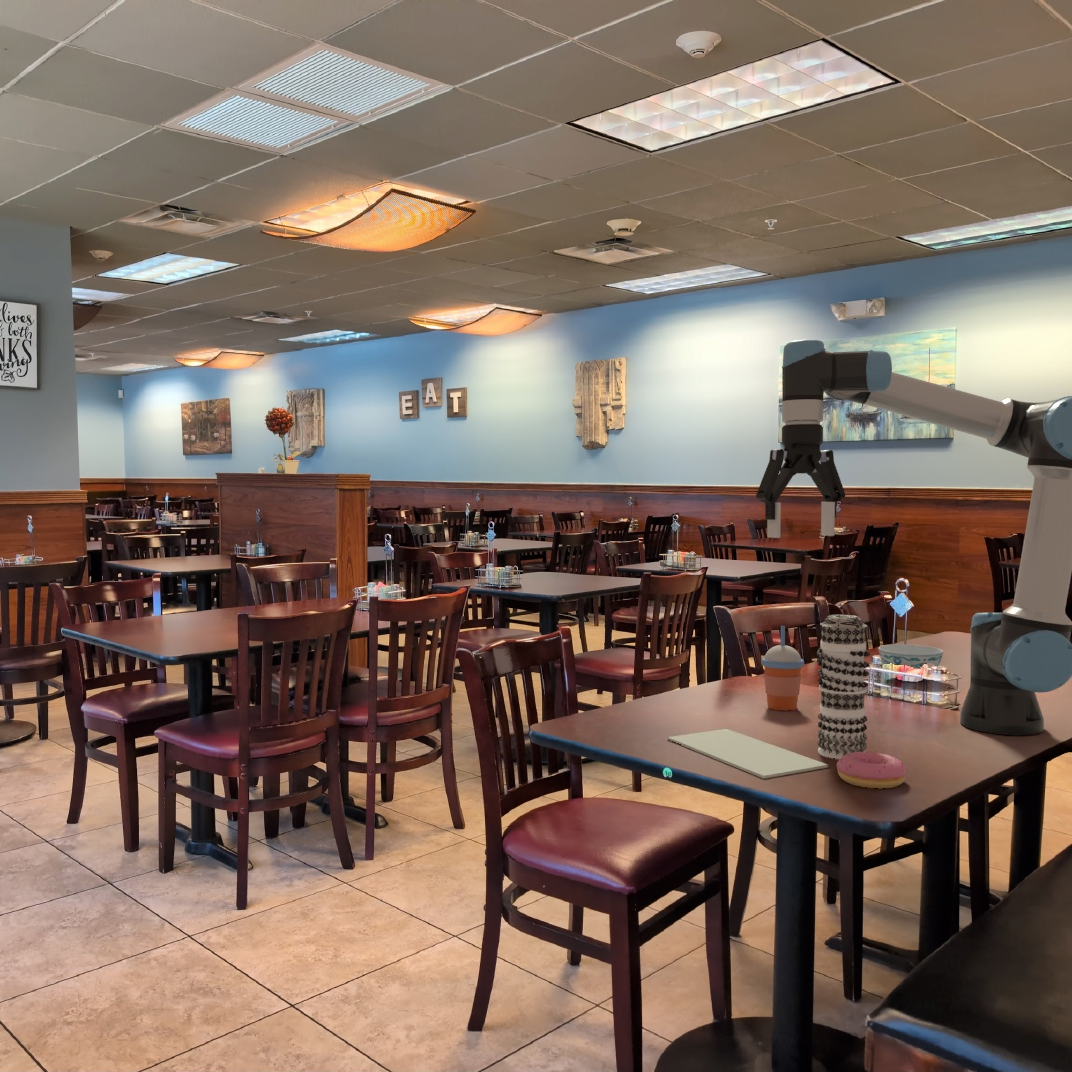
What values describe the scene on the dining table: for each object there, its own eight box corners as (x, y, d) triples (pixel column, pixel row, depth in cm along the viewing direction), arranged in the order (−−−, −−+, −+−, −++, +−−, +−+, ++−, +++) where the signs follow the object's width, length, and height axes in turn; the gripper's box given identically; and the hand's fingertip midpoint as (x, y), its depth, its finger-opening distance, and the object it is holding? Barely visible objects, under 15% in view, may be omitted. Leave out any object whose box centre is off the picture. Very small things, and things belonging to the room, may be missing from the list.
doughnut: (906, 795, 153) (906, 769, 152) (833, 787, 157) (833, 762, 157) (907, 775, 163) (907, 751, 163) (838, 769, 167) (838, 745, 167)
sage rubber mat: (667, 739, 186) (667, 737, 186) (726, 731, 192) (726, 728, 192) (763, 778, 161) (763, 775, 161) (828, 767, 167) (828, 764, 167)
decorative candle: (863, 747, 180) (865, 613, 178) (873, 761, 171) (875, 620, 169) (812, 745, 181) (813, 612, 180) (819, 759, 172) (821, 619, 171)
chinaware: (938, 675, 247) (939, 645, 247) (945, 687, 233) (946, 655, 232) (876, 672, 252) (877, 643, 251) (879, 684, 237) (880, 652, 237)
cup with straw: (785, 714, 206) (785, 630, 205) (752, 706, 213) (752, 625, 212) (812, 708, 211) (813, 626, 210) (779, 701, 218) (780, 621, 218)
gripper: (836, 426, 192) (834, 534, 193) (737, 423, 180) (736, 537, 181) (865, 424, 186) (863, 535, 187) (765, 420, 174) (764, 539, 175)
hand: (801, 536), depth 184 cm, fingers open, 13 cm apart
